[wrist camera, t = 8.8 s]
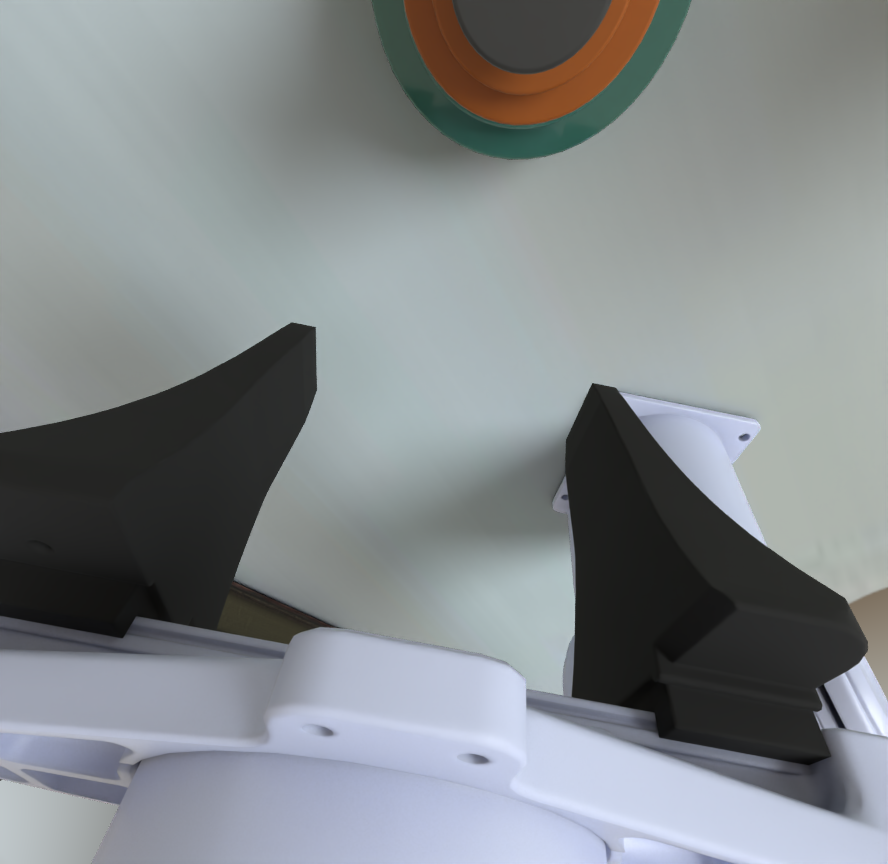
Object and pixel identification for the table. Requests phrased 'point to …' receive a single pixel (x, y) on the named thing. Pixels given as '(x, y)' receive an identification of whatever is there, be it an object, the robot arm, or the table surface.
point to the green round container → (523, 138)
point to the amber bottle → (526, 51)
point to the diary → (262, 617)
